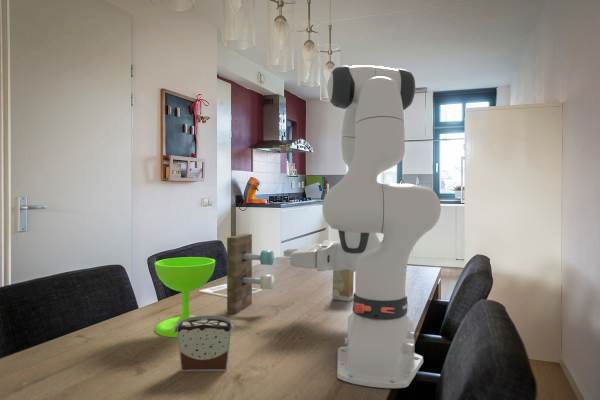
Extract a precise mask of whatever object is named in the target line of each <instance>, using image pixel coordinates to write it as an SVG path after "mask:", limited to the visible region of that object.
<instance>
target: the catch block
mask: <svg viewBox="0 0 600 400" xmlns="http://www.w3.org/2000/svg"><path fill="white" fill-rule="evenodd" d="M242 254H253V234H252V233H242V234H237V235H232V236H228V237H227V238H226V284H227V289H226V295H227V297H226V299H227V300H226V313H227V314H233V315H236V314H238V313H240V312H241V311H243V310H244V309H246V308H248V307H249V306H250V305H252V304H253V297H252V296H253V294H252V292H253V290H252V288H253V284H249V283H242V277H246V278H253V266H252V265H253V262H252V261H253V260H245V259H242Z"/></svg>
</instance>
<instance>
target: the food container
mask: <svg viewBox="0 0 600 400" xmlns="http://www.w3.org/2000/svg"><path fill="white" fill-rule="evenodd" d="M193 316H194V317H189V318H186V319H183V320H180V321H179V322H177V324H176V326H175V330H174V333H175V332H177V336H178V337H177V344H178V352H179V363H180V370H181V372H213V371H215V372H216V371H218V372H221V371H222V372H225V371H227V370H228V363H229V354H230V353H229V352H230V342H231V335H232V333H234V332H235V329H234V325H233V323H232V320H231V318H228V317H226V316H221V315H210V314H208V315H207V314H206V315H193Z"/></svg>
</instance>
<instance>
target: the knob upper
mask: <svg viewBox="0 0 600 400" xmlns="http://www.w3.org/2000/svg"><path fill="white" fill-rule="evenodd" d="M242 259H245V260H252V261H259V262H260V265H263V266H273V264H274V262H275V252H274V250H264V249H263V250H261V252H260V253H259V254H256V253H252V254H242Z"/></svg>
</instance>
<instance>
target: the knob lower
mask: <svg viewBox="0 0 600 400" xmlns="http://www.w3.org/2000/svg"><path fill="white" fill-rule="evenodd" d="M242 283H249V284H252V285H260V289H261V290H273V288H274V287H275V286H274V284H275V277H274V275H273V274H261V275H260V278H258V277H252V278H246V277H242Z"/></svg>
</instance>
